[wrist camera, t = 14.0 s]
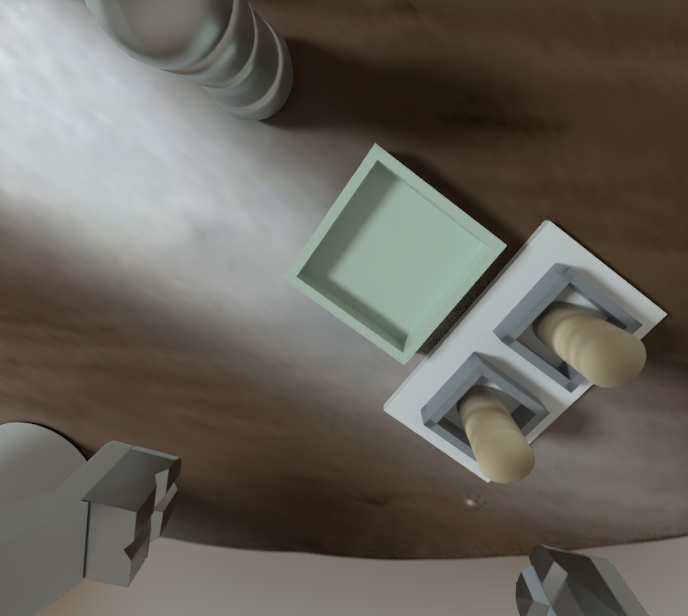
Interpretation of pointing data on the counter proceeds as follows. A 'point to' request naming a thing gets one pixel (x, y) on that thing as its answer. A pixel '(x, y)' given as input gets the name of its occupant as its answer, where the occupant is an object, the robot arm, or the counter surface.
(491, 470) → the cylinder
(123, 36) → the plastic bottle
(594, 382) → the cylinder
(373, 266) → the tote
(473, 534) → the counter surface
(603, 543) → the counter surface
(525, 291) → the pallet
